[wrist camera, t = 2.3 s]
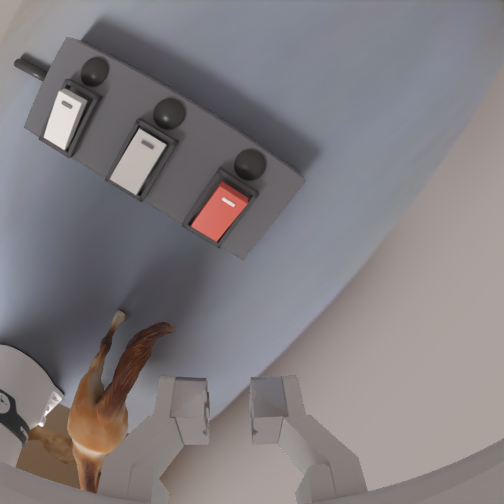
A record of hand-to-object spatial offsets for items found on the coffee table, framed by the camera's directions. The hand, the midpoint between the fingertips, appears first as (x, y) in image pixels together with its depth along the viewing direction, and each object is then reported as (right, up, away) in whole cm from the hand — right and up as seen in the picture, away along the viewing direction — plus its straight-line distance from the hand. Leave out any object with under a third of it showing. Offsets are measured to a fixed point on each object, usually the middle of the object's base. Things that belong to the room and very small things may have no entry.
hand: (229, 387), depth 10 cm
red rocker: (-2, +8, +18) cm, 20 cm away
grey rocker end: (-16, +16, +13) cm, 26 cm away
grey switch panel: (-11, +17, +18) cm, 27 cm away
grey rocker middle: (-9, +12, +16) cm, 22 cm away
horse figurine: (-16, -12, +33) cm, 39 cm away
